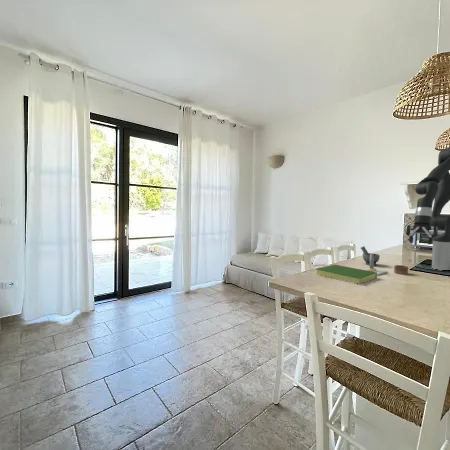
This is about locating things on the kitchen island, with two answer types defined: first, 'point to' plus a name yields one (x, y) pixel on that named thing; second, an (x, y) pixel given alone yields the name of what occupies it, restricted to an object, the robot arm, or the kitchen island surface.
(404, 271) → the ring
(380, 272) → the post
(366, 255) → the mortar and pestle
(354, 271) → the hardcover book
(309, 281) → the kitchen island surface
